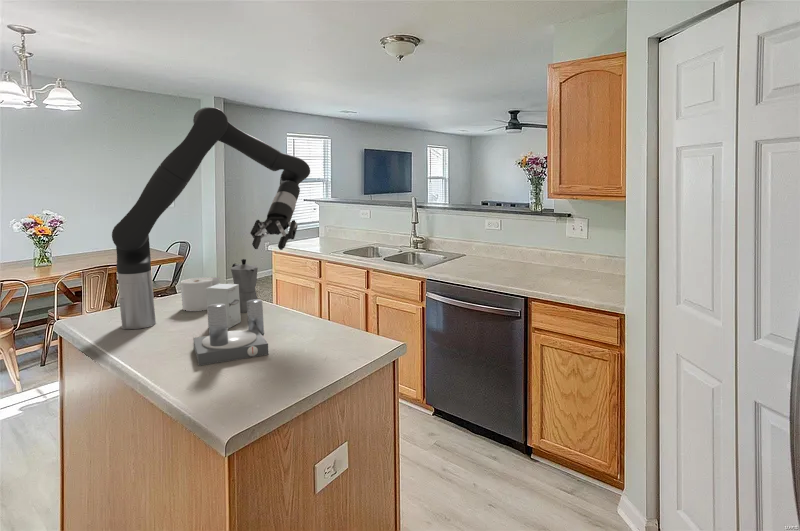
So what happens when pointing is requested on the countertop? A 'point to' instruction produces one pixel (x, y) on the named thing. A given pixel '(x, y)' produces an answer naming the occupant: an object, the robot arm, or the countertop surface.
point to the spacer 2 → (255, 315)
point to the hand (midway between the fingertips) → (267, 248)
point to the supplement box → (226, 301)
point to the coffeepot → (245, 282)
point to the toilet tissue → (196, 292)
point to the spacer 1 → (217, 324)
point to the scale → (231, 347)
